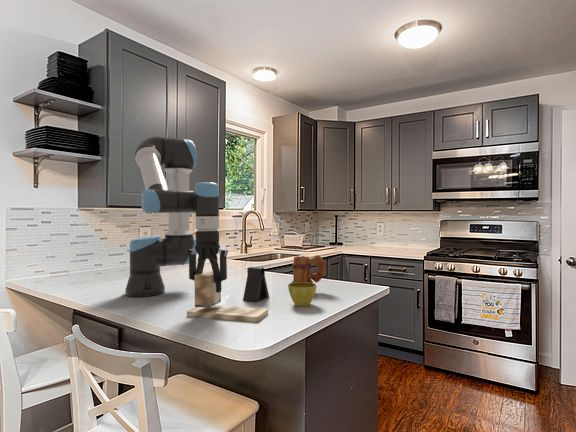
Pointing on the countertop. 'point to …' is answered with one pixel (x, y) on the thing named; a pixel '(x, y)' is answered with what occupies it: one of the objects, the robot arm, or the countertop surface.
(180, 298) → the countertop surface
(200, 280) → the block
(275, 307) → the countertop surface
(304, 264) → the mug
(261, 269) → the door stopper
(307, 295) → the flower pot
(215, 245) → the robot arm
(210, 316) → the board
